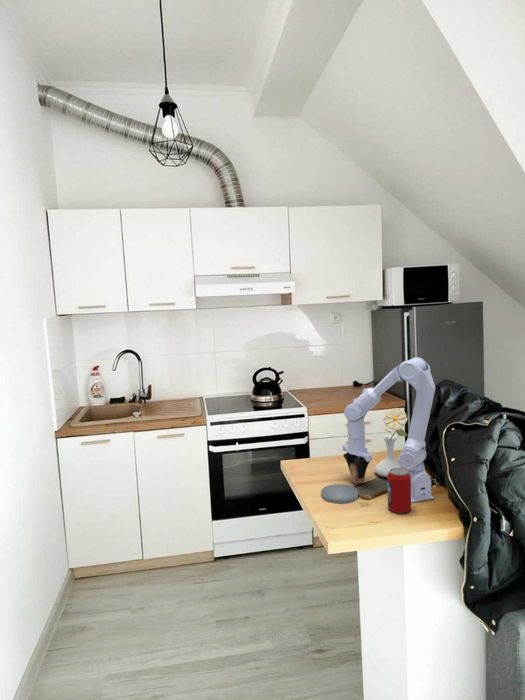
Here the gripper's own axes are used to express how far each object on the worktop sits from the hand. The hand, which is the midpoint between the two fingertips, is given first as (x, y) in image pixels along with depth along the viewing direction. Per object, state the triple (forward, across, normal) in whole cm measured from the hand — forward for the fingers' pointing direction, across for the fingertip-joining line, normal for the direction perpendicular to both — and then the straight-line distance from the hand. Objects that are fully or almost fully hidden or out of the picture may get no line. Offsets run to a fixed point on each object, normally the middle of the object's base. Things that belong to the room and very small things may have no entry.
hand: (357, 475), depth 164 cm
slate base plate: (+3, -5, +11) cm, 13 cm away
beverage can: (+3, -23, +2) cm, 23 cm away
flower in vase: (+3, 0, -15) cm, 15 cm away
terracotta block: (+2, 0, 0) cm, 2 cm away
